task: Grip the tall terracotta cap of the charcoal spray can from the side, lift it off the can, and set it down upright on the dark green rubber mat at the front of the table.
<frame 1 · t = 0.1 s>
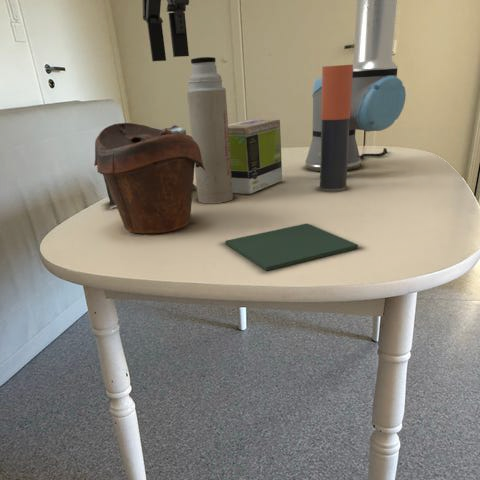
hand: (169, 59, 86), 28 cm above the table, tool pointing down, fingers open, 13 cm apart
tea box: (250, 187, 111), on the table
spray can: (332, 188, 104), on the table
mat: (289, 246, 71), on the table
brown tapered pot: (159, 225, 86), on the table
spray cap: (335, 118, 97), point 15 cm above the table, touching spray can
beverage can: (335, 177, 115), on the table, touching arm
thermos bottle: (215, 200, 102), on the table
radio: (153, 197, 108), on the table
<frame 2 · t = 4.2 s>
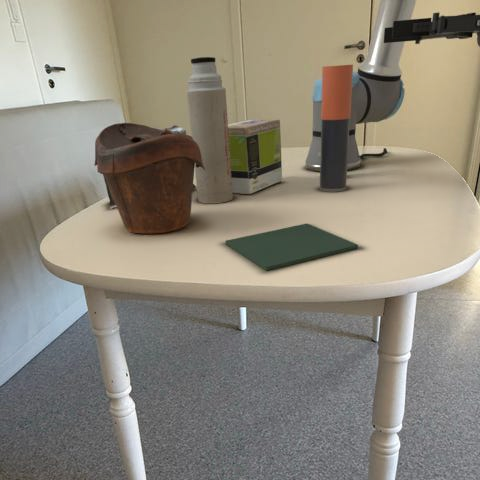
hand: (387, 33, 88), 30 cm above the table, tool horizontal, fingers open, 13 cm apart
beverage can: (335, 178, 115), on the table
everything else where it was.
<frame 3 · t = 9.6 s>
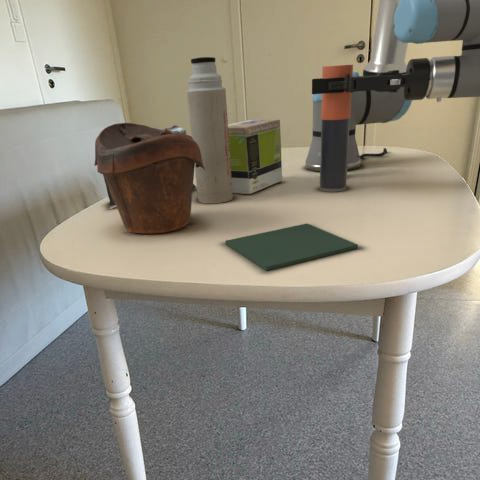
hand: (312, 86, 94), 21 cm above the table, tool horizontal, fingers closed on spray cap, 6 cm apart
spray cap: (335, 118, 97), point 15 cm above the table, touching gripper, spray can
everything else where it was.
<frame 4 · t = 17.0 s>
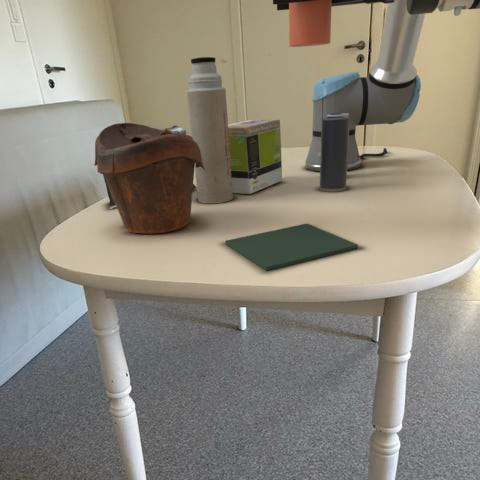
spray cap: (309, 44, 68), point 28 cm above the table, touching gripper
everything else where it was.
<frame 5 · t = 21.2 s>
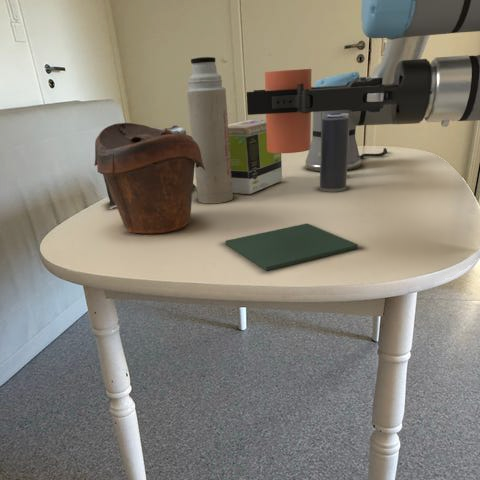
hand: (251, 102, 62), 21 cm above the table, tool horizontal, fingers closed on spray cap, 6 cm apart
spray cap: (288, 149, 64), point 15 cm above the table, touching gripper
everything else where it was.
when the fingers open (7 cm above the table, at t = 24.6 s): spray cap stays where it is, resting on mat.
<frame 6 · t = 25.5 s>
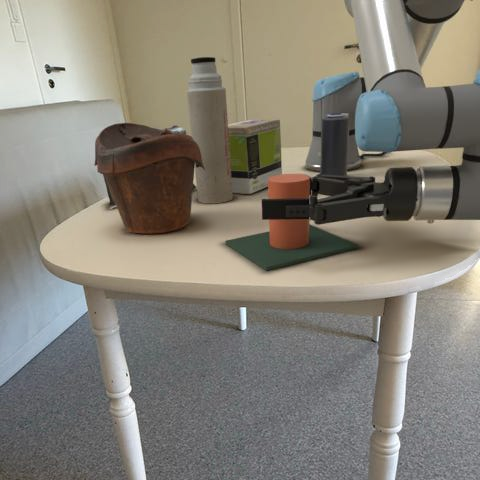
hand: (267, 197, 68), 8 cm above the table, tool horizontal, fingers open, 13 cm apart
spray cap: (289, 242, 71), point 1 cm above the table, touching mat
everything else where it was.
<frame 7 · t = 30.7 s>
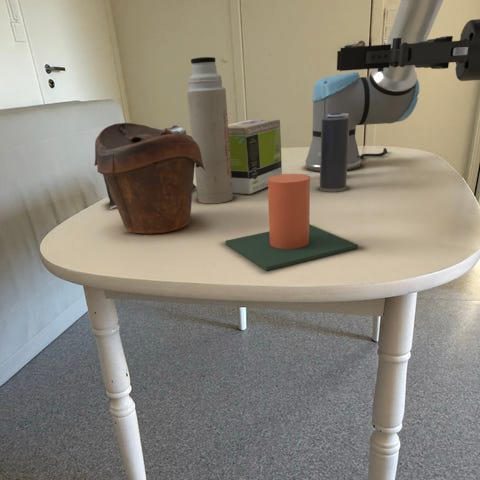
hand: (338, 60, 66), 25 cm above the table, tool horizontal, fingers open, 13 cm apart
nothing on the table moved.
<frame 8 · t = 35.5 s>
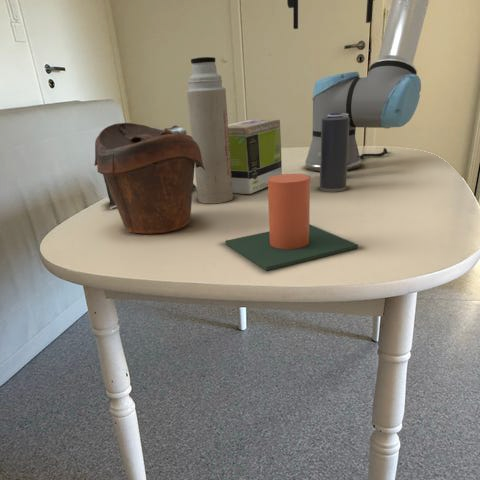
hand: (331, 25, 85), 32 cm above the table, tool pointing down, fingers open, 13 cm apart
nothing on the table moved.
at the end: spray cap inside the target area on the mat (0.0 cm from its centre), point 0.6 cm above the mat's base; spray cap tilted 0°; the gripper is holding nothing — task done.
